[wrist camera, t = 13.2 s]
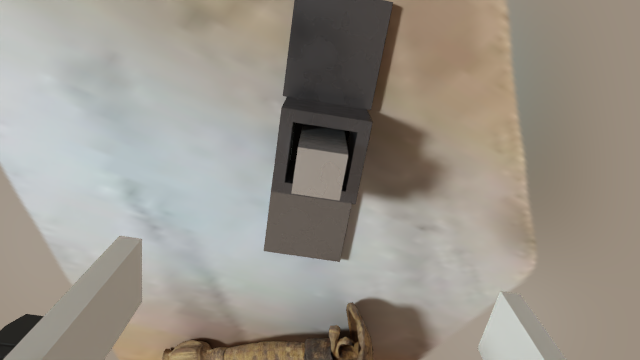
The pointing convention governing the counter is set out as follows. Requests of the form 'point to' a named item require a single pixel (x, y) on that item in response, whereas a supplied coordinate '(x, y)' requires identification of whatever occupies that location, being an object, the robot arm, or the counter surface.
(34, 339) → the robot arm
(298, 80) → the square socket bracket
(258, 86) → the counter surface
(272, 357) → the sword hilt
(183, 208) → the counter surface
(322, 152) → the beige rectangular block
